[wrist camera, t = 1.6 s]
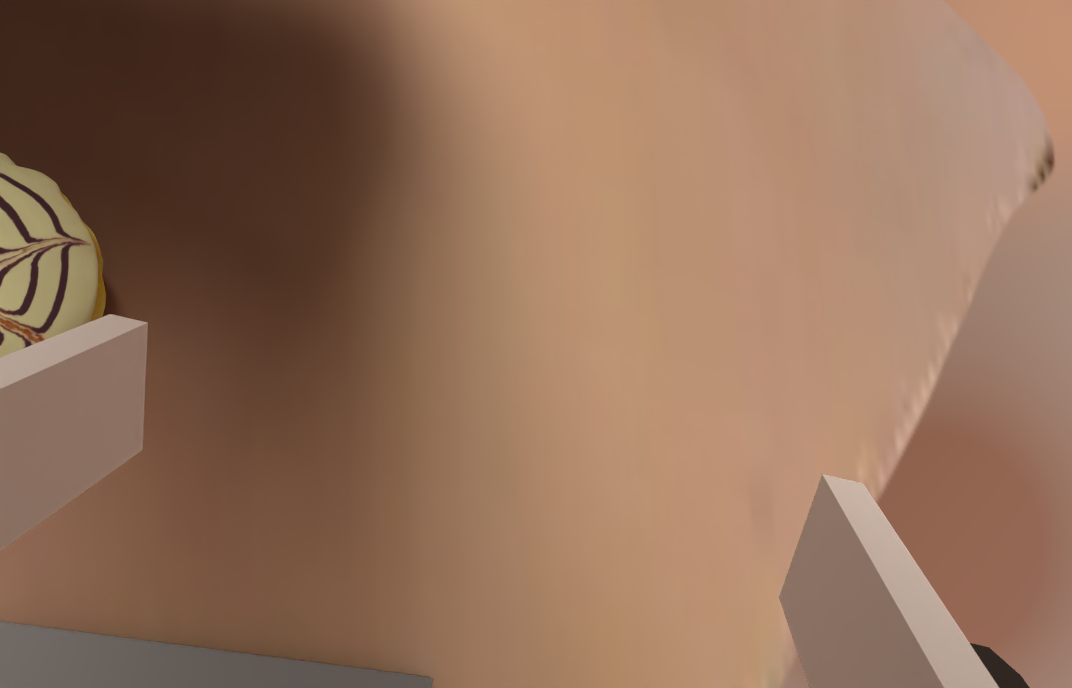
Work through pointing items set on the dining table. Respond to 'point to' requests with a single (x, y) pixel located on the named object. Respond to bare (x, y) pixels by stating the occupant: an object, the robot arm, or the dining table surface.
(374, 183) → the dining table surface
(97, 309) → the decorated donut
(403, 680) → the slate mat
